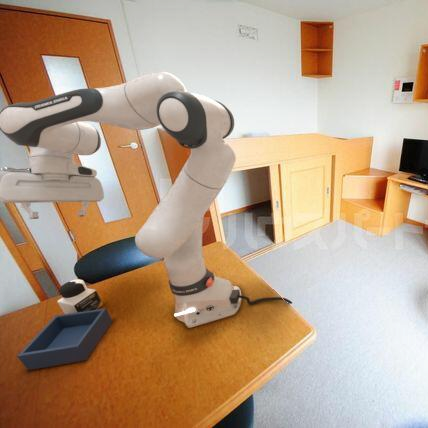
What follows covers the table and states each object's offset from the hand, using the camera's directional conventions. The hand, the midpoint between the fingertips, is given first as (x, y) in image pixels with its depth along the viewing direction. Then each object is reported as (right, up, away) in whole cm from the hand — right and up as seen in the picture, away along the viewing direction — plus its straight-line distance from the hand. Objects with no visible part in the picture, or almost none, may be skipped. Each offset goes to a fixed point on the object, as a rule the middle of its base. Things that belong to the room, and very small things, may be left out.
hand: (59, 217), depth 69 cm
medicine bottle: (-8, -33, +15) cm, 37 cm away
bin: (0, -39, +4) cm, 39 cm away
